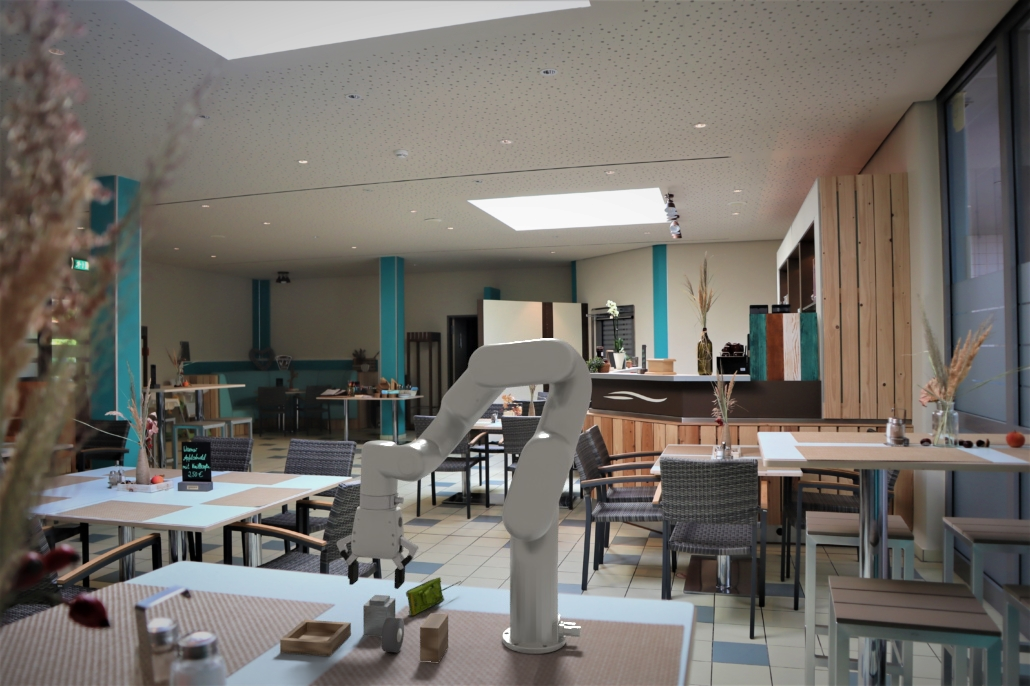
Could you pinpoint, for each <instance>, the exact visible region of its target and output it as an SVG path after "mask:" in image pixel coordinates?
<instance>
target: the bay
mask: <svg viewBox="0 0 1030 686" xmlns="http://www.w3.org/2000/svg"><path fill="white" fill-rule="evenodd" d="M351 635H352V622H347V621H345V622H344V621H343V622H342V621H331V620H330V621H328V620H315V619H303V620H302V621H301V622H300V623H298V624H297V625H296V626H295V627H294V628H292V630H290V631H289V632H288V633H287V634H285V635H283V637H282V638H281V639H280V640H279V643H280V644H279V645H280V646H279V649H280V650H279V653H280V654H289V655H290V654H292V655H303V656H304V655H305V656H317V657H318V656H319V657H331V656H332V655H333V654H334V653H335V652H336V650H338V649H339V648H340V647H341V646H342V645H343V644H344V643H345V642H346V641H347V640H348V639H349V638H350V636H351Z"/></svg>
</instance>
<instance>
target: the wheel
mask: <svg viewBox="0 0 1030 686" xmlns="http://www.w3.org/2000/svg"><path fill="white" fill-rule="evenodd" d="M404 637H405V623H404V620H403V618H402V617H400V618H399V617H395V618H387V619H386V620H385V622H384V625H383V628H382V634H381V636H380V646H381V649H382V652H387V653H388V652H389V653H399V651H400V650H401V649H402V646H403V641H404Z"/></svg>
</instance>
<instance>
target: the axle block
mask: <svg viewBox="0 0 1030 686" xmlns="http://www.w3.org/2000/svg"><path fill="white" fill-rule="evenodd" d="M447 648H448V649H449V613H437V612H436V613H434V612H433V613H432V612H431V613H430V614H429V615H427V618H426V619H425V620H424V621H423V623H422V624H421V625H420V627H419V662H420V661H431V662H439V660H440V659H441V660H442V658H443V657H444V655H445V654H446V652H447V650H448V649H447ZM446 649H447V650H446ZM445 651H446V652H445ZM444 653H445V654H444ZM443 654H444V655H443ZM442 656H443V657H442ZM441 657H442V658H441ZM441 660H440V661H441ZM439 663H440V662H439Z"/></svg>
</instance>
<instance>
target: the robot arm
mask: <svg viewBox="0 0 1030 686" xmlns="http://www.w3.org/2000/svg"><path fill="white" fill-rule="evenodd" d="M467 365H468V366H467V368H466V370H465V371H464V372H463V373H462V374H461V376H460V377H459V378H458V379H457V380H456V381H455V383H453V384H452V386H451V387H450V388H449V389H448V390H447V391H446V393H445V394H444V395H443V397H442V399H441V401H440V403H441V404H440V407H439V410H438V413H437V414H436V415H435V417H434V419H432V421H431V423H430V424H429V425H428V426H427V428H425V430H424V431H423V432H422V433H421V434H420V435H419V437H417V439H416V440H413V441H411V442H409V443H405V444H401V445H399V444H397V443H396V442H394V441H392V440H369V441H367V442H365V443H364V444H363V445H362V447H361V457H360V458H361V459H360V464H361V465H360V485H359V487H360V488H359V490H360V491H359V506H357V508H356V511H355V515H354V520H353V525H352V531H351V534H349V535H347V536H346V537H344V538H341V539H339V540H337V541H336V546H337V548H338V551H339V553H340V556H341V557H342V559H343V560H344V561H345V564H346V565H347V579H348V580H349V581H348V582H349V585H350V586H352V585H354V584H355V583H357V582H358V581H359V575H360V574H359V573H360V572H359V570H360V565H359V564H360V563H359V561H358V558H367V559H378V560H380V559H382V560H392V562H393V564H395V566H396V568H395V569H394V585H393V586H394V589H395V590H398V589H400V587H402V585H403V584H405V581H406V577H405V576H406V566H407V565H408V564H409V563H410V562H411V561H412V560H414V557H415V556H416V555H417V552H418V550H419V545H417V544H416V543H414V542H412V541H410V540H409V539H407V538H406V537H405V531H404V530H405V529H404V519H403V513H402V508H401V507H400V506H398V505H403V504H404V501H405V500H404V499H405V498H404V497H401V496H400V495H399V492H398V482H399V481H403V482H406V483H407V482H409V483H410V482H411V483H412V482H417V481H421V480H422V479H424V478H425V477H427V476H428V475H429V474H431V473H433V472H435V470H437V469H438V468H439V467H440V466H441V464H443V463H444V462H445V460H446V459H448V457H449V456H450V455H451V453H453V451H454V450H455V449H456V448H457V446H458V445H459V444H460V443H461V442H462V440H463V439H464V438H465V437H466V435H467V434H468V433H469V432H470V431H471V430H472V429H473V428H474V426H475V425H476V424H477V422H478V421H479V420H480V419H481V418H482V416H483V415H484V414H485V413H486V412H487V410H488V409H489V408H490V407H491V406H492V405H493V404H494V402H495V401H496V400H497V399H498V398H499V397H500V396H501V395H502V394H503V392H505V390H506V389H507V388H519V387H520V388H521V387H528V386H529V387H530V386H537V385H539V386H540V385H548V386H549V389H548V393H547V398H546V399H545V403H544V405H543V407H542V413H541V416H540V419H539V421H538V424H537V426H536V430H535V432H534V434H533V436H532V437H531V438H530V439H529V440H528V441H527V442H526V444H525V445H524V446H523V448H522V450H521V453H520V454H519V457H518V460H517V464H516V466H515V469H514V472H513V476H512V478H511V481H510V484H509V486H508V487H509V488H508V490H507V493H506V496H505V500H504V503H503V505H502V510H501V517H502V519H501V520H502V523H503V526H504V528H505V530H506V531H507V533H508V534H509V535H510V538H509V627H507V628H506V629H505V630H504V631H503V632H502V635H501V638H502V639H501V641H502V644H503V645H504V646H505V647H506V648H508V649H509V650H512V651H514V652H517V653H522V654H527V655H530V654H531V655H538V654H539V655H540V654H548V653H552V652H555V651H558V650H560V649H561V648H563V646H565V644H566V641H567V637H571V638H572V637H573V638H581V626H576V622H565V621H564V620H562V614H560V613H559V598H558V597H559V596H558V595H559V591H558V589H559V588H558V587H559V575H558V574H559V572H558V570H559V569H558V568H559V566H558V565H559V529H560V528H559V525H560V499H561V496H562V493H563V490H564V488H565V485H566V482H567V478H568V476H569V474H570V470H571V468H572V466H573V464H574V461H575V460H574V459H575V453H576V450H577V447H578V444H579V440H580V437H581V435H582V430H583V427H584V424H585V420H586V417H587V415H588V410H589V407H590V404H591V399H592V393H593V392H592V390H593V383H592V382H593V381H592V377H591V372H590V370H589V367H588V364H587V362H586V361H585V359H584V358H583V356H582V355H581V354H580V352H578V350H577V349H576V348H575V347H573V345H572V344H571V343H569V342H567V341H565V340H564V339H563V340H562V339H561V338H560V339H559V338H552V337H551V338H540V339H539V338H538V339H531V340H530V339H529V340H523V341H522V340H521V341H514V342H506V343H505V342H503V343H488V344H484V345H482V346H480V347H478V348H477V349H475V350H474V351H473V353H472V354H471V356H470V357H469V360H468V363H467ZM349 543H351V544H350V549H351V551H350V550H349V549H348V546H347V544H349ZM405 549H407V551H408V553H407V555H406V557H405V556H404V555H403V552H404V550H405Z"/></svg>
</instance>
